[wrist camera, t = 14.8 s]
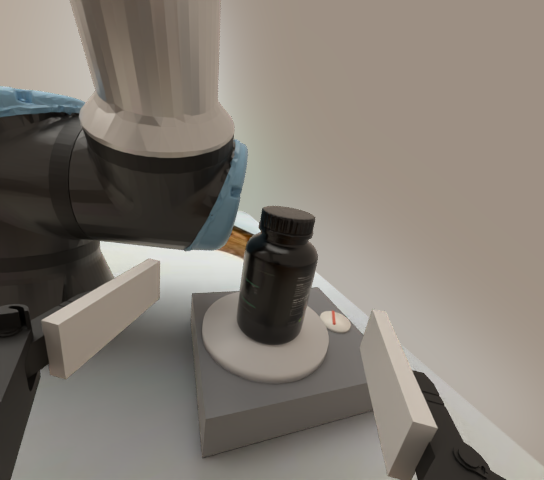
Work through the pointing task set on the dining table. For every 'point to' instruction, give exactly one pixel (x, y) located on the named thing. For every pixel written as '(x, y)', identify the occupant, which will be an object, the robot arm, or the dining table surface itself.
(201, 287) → the dining table surface
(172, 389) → the dining table surface
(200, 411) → the kitchen scale
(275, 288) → the supplement bottle
